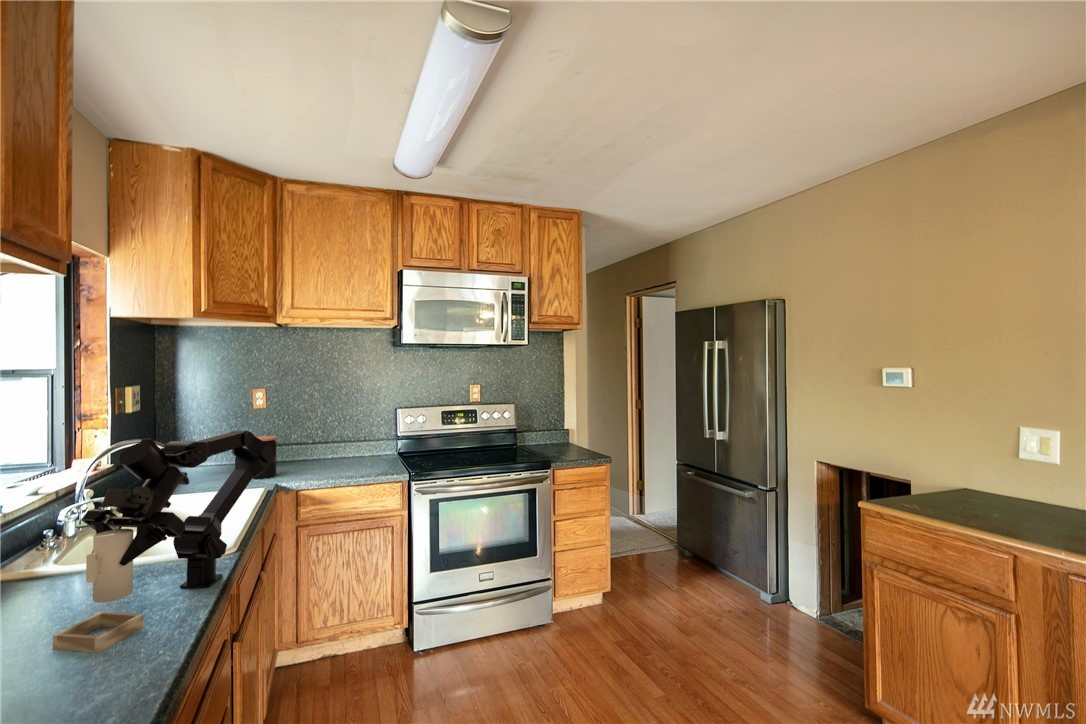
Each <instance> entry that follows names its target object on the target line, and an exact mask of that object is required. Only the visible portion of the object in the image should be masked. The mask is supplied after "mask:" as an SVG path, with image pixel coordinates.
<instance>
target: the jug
mask: <svg viewBox="0 0 1086 724" xmlns="http://www.w3.org/2000/svg"><path fill="white" fill-rule="evenodd" d="M92 539H93V540H92V544H93V545H92V551H93V553H92V552H91V553H89V554H86V559H85V560H86V566H85V567H86V575H85V577H86V578H85V582H86V583H90V584H91V583H92V601H93V602H95V603H109V602H114V601H118V600H122V599H124V598H126V597H128V596H130V595H131V594H133V593H134V560H132V561H131V562H129V563H128V564H126V565H125V566H122V565H120V561H121V559H122V557H123V555H124V554H125V552H126V551H127V549H128V547H129V546H130V544H131V543H132V541H133V539H134V529H132V528H121V529H115V530H109V531H105V532H101V533H98V534H96V533H95V534H94V535H93V537H92Z"/></svg>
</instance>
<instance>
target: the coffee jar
mask: <svg viewBox="0 0 1086 724" xmlns="http://www.w3.org/2000/svg"><path fill="white" fill-rule="evenodd" d="M256 437H257V438H259V439H260V440H262V441H264V442H266V443H267V444H268V445H269V446H270V447H271V448H272V450H273V451H274V454H275V455H274V459H273V461H272V463H271V464H270V465H269V467H268V468H267V469H266V470H265V471H264V472H262V473H260V474H258V475H257V476H255V477H253V479H252V480H265V479H264V478H267V479H271V478H270V477H272V478H275V476H276V474H277V441H276V440H277V436H275V435H263V436H262V435H259V436H256Z"/></svg>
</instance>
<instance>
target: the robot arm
mask: <svg viewBox="0 0 1086 724" xmlns="http://www.w3.org/2000/svg"><path fill="white" fill-rule="evenodd" d="M257 437H258V436H255V434H254V433H253V432H251V431H249V430H233V431H229V432H227V433H223V434H218V435H216V436H212V437H208V438H204V439H201V440H200V439H199V440H174V441H173V440H172V441H169V442H167V443H166V444H165V445H164V447H162V448H160V447H159V446H158V445H157V443H156V442H155V441H154V439H153V438H142V439H141V440H140V442H137V443H135V444H132V445H131V446H128V448H127V449H125V450H123V451H122V452H121V453H120V455H119V458H118V462H119V464H121V465H122V466H123V467H124V468H125V469H126V470H128V471H129V473H131V474H132V475H133V476H135V477H136V479H138V480H140V481H145V482H144V483H143V484H142V486H136V487H134V489H126V488H125V489H123V488H122V489H121V488H108V489H107V491H106V493H105V495H104V498H103V499H102V500H103V501H102V503H101V506H103V507H107V506H109V507H114V508H115V512H117V513H118V514H122V515H121V516H118V515H117V514H115V513H114V512H113V511H112V510H110V509H105V508H94V509H93V508H92V509H89V510H87V511H86V512H85V514H84V515H83V516H82V518H81V520H80V521H82V522H83V523H84V524H85V525H87V526H89V527H90V528H91V529H93V530H94V531H95V535H96V534H98V533H101V532H105V531H109V530H115V529H123V528H136V533H135V535H134V536H135V537H133V541H132V543H131V544H130V546H129V547H128V549H127V551H126V552H125V554H124V555H123V557H122V559H121V561H120V565H122V566H125V565H126V564H128V563H129V562H131V561H132V560H133V561H134V560H135V559H137V558H138V557H139V556H141V555H142V554H144V553H145V552H146V551H148V550H149V549H151V548H153V547H155V546H156V545H157V544H159V543H160V542H162V541H166V540H167V539H168V538H173V544H172V545H173V547H174V550H175V553H176V556H177V559H178V560H179V559H180V560H181V559H182V560H183V559H184V560H185V559H186V560H187V561H186V562H187V563H186V581H184V582H183V583H182V584H181V583H180V585H179V588H180V589H185V588H186V589H188V588H189V589H194V588H196V589H197V588H209V587H211V586H212V585H213V584H215V583H216V582H218V581H219V580H220V579H221V578H222V577H223V574H221V573H219V574H218V573H217V559H220V558H222V556H223V555H225V554H226V551H227V549H228V544H227V543H226V542H225V541H223V540H222V539H221V536H222V523H223V522H224V520H225V519H226V517H227V516H228V515H229V513H230V512H231V510H232V509H233V507H234V505H236V503H237V502H238V500H239V498H240V497H241V496H242V494H243V493H244V491H245V490H246V488H247V487H248V485H249V484H250V482H251V481H252V480H253V479H252V478H253V477H255V476H257V475H258V474H260V473H262V472H264V471H265V470H266V469H267V468H268V467H269V465H270V464H271V463H272V461H273V459H274V455H275V454H274V451H273V450H272V448H271V447H270V446H269V445H268V444H267V443H266V442H264V441H262V440H260V439H259V438H257ZM229 451H231V454H232V455H233V456H234V457H235V458H234V470H233V471H232V472H231V474H230V475H229V476H228V478H227V479H225V481H224V483H223V484H222V486H221V487H220V488H219V490H218V491H217V492H216V494H215V495H214V496H213V498H212V499H211V500H210V502H209V503H208V504H207V506H206V507H205V509H204V510H203V511H202V513H200V514H199V515H189V516H187V517H185V519H184V521H183V520H182V518H180V517H179V516H178V515H176V513H174V512H172V511H170V512H169V511H162V510H163V509H169V508H170V506H171V505H172V503H171V502H170V501H169V500H170V499H171V497H172V496H173V494H174V493H175V491H176V490H177V488H178V487H179V485H183V486H188V485H189V484H190V478H189V477H188V473H187V472H185V471H184V472H182V471H181V469H179V468H183V469H185V468H186V469H187V468H189V469H191V468H192V469H193V468H196V467H198V466H200V465H202V464H203V463H206V462H207V461H208V458H210V457H212V456H216V455H220V454H222V453H225V452H229ZM92 553H93V550H92V551H91V554H92Z"/></svg>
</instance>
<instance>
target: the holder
mask: <svg viewBox="0 0 1086 724" xmlns="http://www.w3.org/2000/svg"><path fill="white" fill-rule="evenodd" d="M101 627H103V628H104V627H105V628H110V629H109V630H108V631H106V632H104V633H101V634H100V635H88V634H89V633H91V632H92V631H95V630H97V629H99V628H101ZM111 628H112V629H111ZM143 628H144V614H143V613H129V612H114V611H113V612H112V611H99V612H97V613H96V614H94V615H92V616H89V617H87V618H85V619H84V620H81V621H80V622H78V623H75V624H73V625H72V626H70V627H68V628H65V629H63V630H61V631H59V632H57V633H55V634H54V635H52V650H57V651H70V652H71V651H72V652H84V653H96V654H99V653H101V652H103V651H104V650H106V649H108V648H110V647H112V646H113V645H114V644H117V643H118V642H119V641H122V640H123V639H125V638H126V637H128V636H131V635H132V634H134V633H135V632H137V631H138V630H141V629H143Z"/></svg>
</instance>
